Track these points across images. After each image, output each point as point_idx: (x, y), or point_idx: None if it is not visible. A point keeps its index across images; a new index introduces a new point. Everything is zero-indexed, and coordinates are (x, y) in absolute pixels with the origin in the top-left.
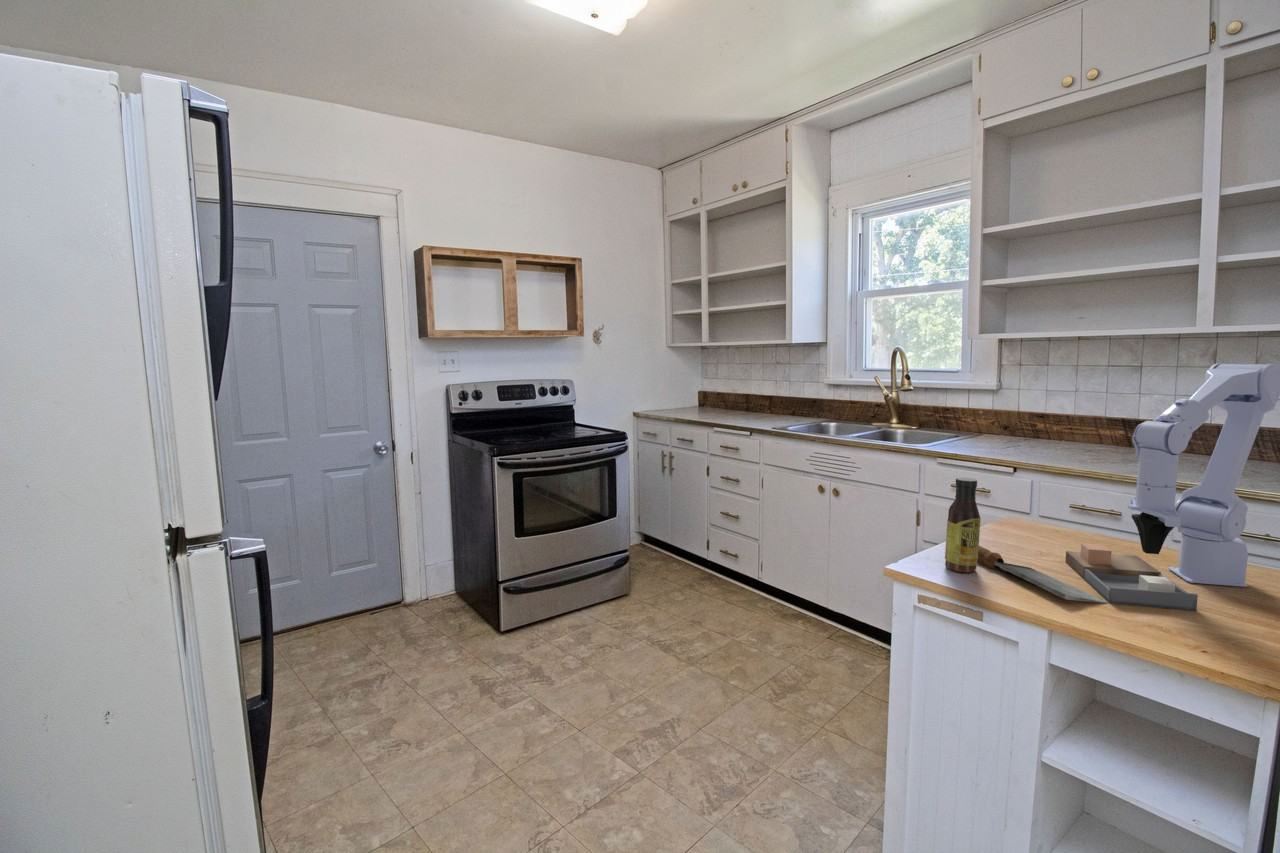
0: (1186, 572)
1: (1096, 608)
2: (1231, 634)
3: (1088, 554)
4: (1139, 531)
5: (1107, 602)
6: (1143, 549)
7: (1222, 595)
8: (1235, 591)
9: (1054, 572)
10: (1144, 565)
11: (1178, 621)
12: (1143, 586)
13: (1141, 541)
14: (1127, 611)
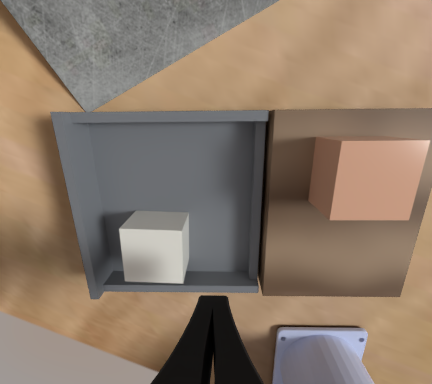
0: (309, 345)
1: (27, 63)
2: (9, 276)
3: (330, 139)
4: (235, 369)
5: (84, 109)
6: (213, 300)
7: None
8: None
9: (311, 37)
10: (315, 282)
11: (32, 218)
12: (156, 219)
13: (223, 324)
14: (43, 136)
